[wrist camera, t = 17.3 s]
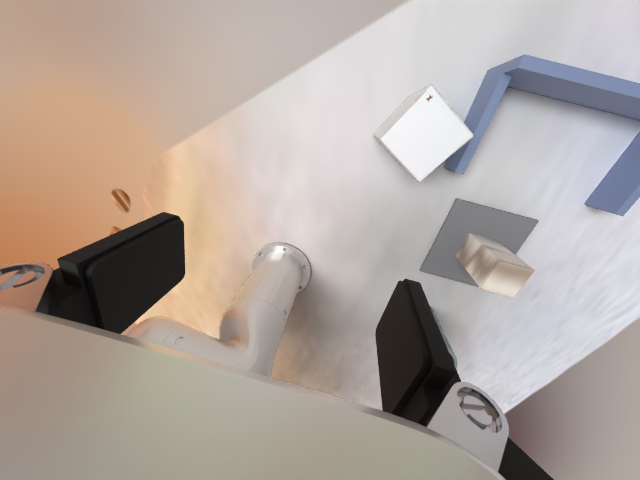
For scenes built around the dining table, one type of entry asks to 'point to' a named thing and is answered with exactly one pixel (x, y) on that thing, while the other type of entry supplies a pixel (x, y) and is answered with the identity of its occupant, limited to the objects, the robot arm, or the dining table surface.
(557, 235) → the dining table surface
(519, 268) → the cream blank
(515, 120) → the dining table surface
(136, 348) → the robot arm
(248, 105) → the dining table surface
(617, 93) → the blue u-shaped wall
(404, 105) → the supplement box
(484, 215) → the grey pad
